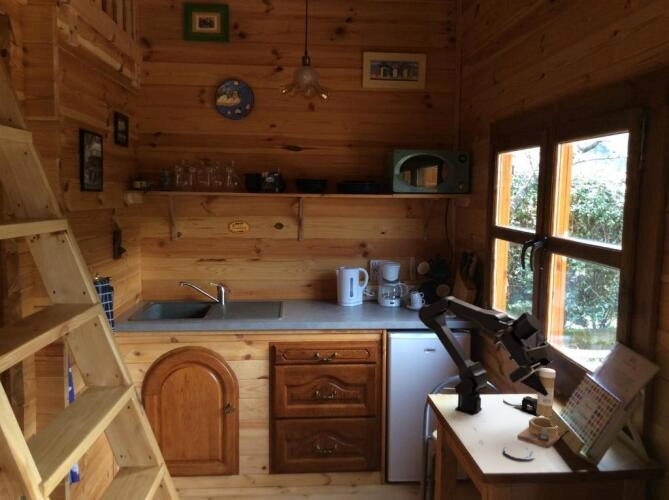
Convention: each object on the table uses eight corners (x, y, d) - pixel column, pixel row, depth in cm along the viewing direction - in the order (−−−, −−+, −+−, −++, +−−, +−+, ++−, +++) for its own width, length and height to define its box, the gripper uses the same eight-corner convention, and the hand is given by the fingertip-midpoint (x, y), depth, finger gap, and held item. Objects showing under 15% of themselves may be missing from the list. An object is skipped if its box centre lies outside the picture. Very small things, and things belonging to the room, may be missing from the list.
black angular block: (552, 415, 180) (553, 401, 180) (539, 420, 176) (540, 406, 176) (519, 403, 190) (520, 390, 190) (506, 408, 186) (507, 395, 185)
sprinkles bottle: (552, 413, 166) (556, 368, 165) (551, 418, 161) (555, 372, 160) (536, 410, 167) (539, 366, 166) (535, 415, 163) (538, 370, 162)
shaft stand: (517, 438, 162) (518, 426, 162) (540, 421, 174) (540, 410, 174) (548, 447, 156) (548, 435, 156) (569, 429, 168) (570, 418, 168)
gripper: (521, 339, 158) (557, 387, 152) (549, 328, 171) (583, 372, 165) (494, 360, 164) (528, 406, 158) (523, 347, 178) (555, 390, 171)
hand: (550, 393), depth 163 cm, fingers closed on sprinkles bottle, 4 cm apart
